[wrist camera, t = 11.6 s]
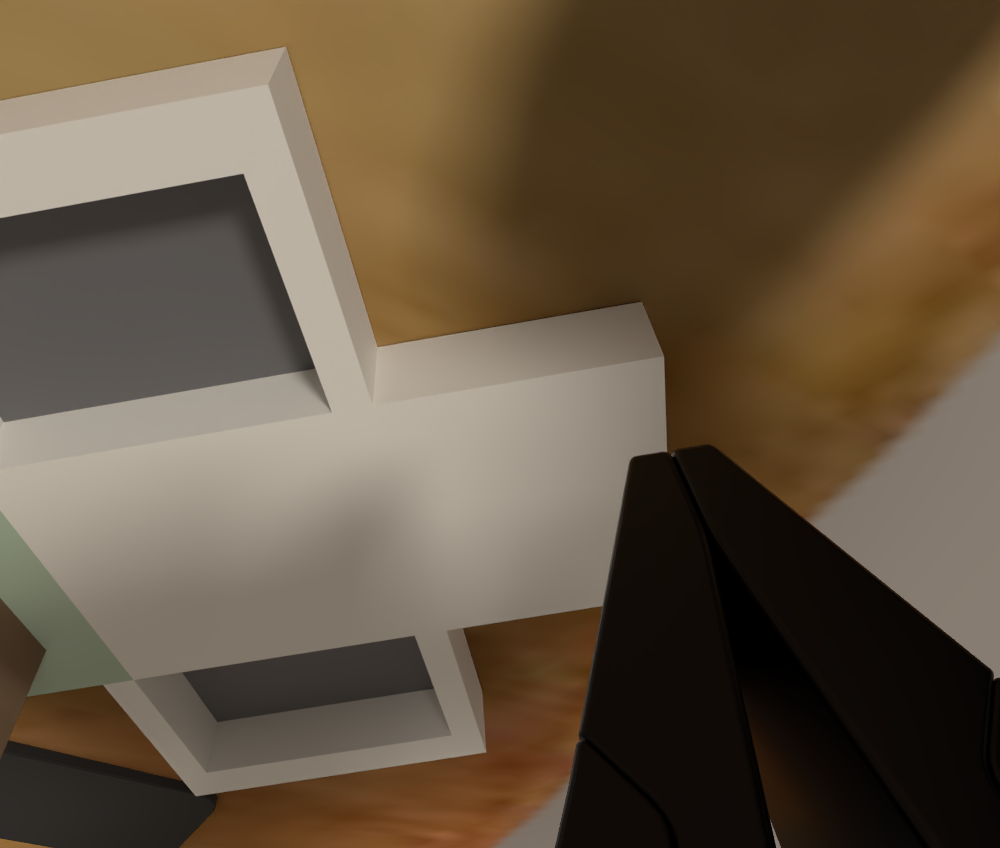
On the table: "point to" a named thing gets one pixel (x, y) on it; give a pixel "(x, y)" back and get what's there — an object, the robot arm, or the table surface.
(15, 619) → the walnut block
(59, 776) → the phone
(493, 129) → the table surface
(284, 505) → the box
